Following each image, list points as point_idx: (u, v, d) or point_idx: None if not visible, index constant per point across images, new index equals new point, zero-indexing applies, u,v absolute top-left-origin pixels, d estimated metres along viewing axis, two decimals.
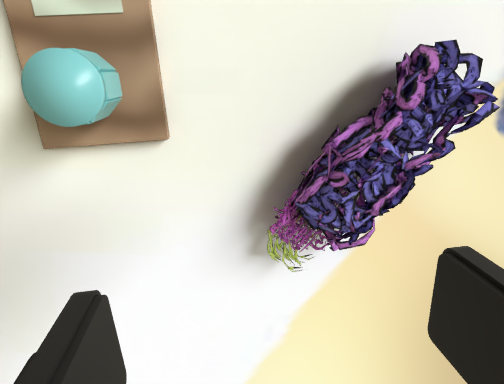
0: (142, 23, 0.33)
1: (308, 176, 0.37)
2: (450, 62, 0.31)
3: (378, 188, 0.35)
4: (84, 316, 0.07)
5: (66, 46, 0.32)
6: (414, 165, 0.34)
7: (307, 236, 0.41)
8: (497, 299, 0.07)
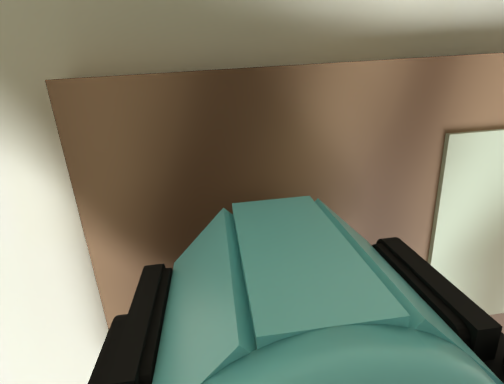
0: None
1: None
2: None
3: None
4: (159, 283, 0.08)
5: (366, 198, 0.12)
6: None
7: None
8: (409, 283, 0.08)
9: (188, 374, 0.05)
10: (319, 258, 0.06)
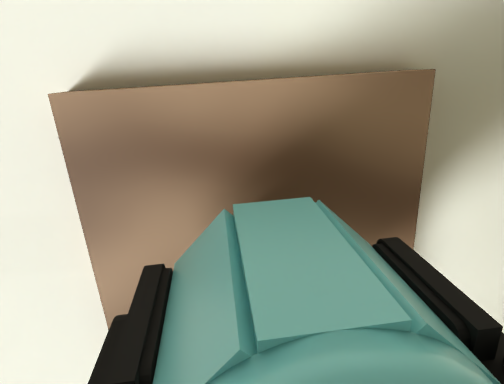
0: None
1: None
2: None
3: None
4: (159, 283, 0.08)
5: None
6: None
7: None
8: (409, 283, 0.08)
9: (188, 377, 0.05)
10: (320, 261, 0.06)
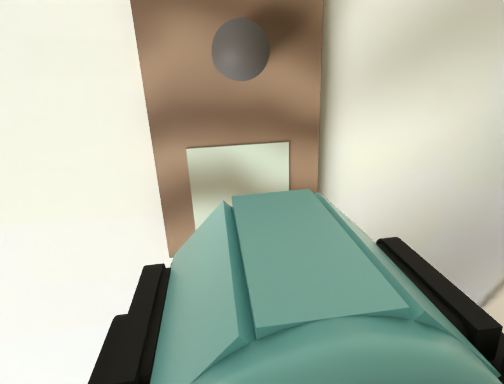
0: (162, 137, 0.25)
1: None
2: None
3: None
4: (159, 283, 0.08)
5: (261, 107, 0.25)
6: None
7: None
8: None
9: (188, 365, 0.05)
10: (319, 250, 0.06)
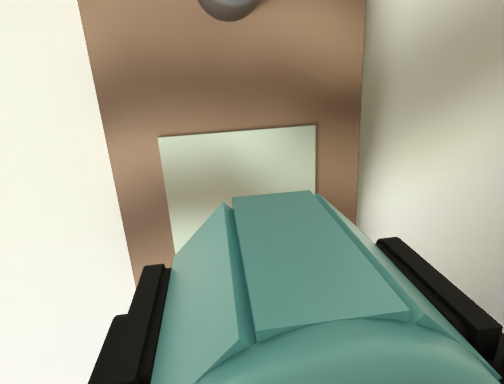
0: (119, 119, 0.16)
1: None
2: None
3: None
4: (159, 283, 0.08)
5: (272, 71, 0.16)
6: None
7: None
8: None
9: (188, 367, 0.05)
10: (319, 252, 0.06)
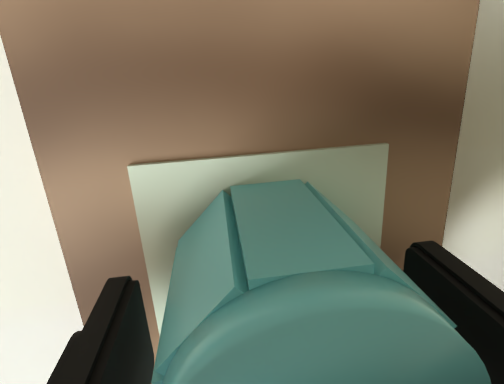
0: (61, 136, 0.09)
1: None
2: None
3: None
4: (121, 298, 0.08)
5: (323, 54, 0.09)
6: None
7: None
8: (453, 289, 0.08)
9: (193, 316, 0.06)
10: (304, 226, 0.07)
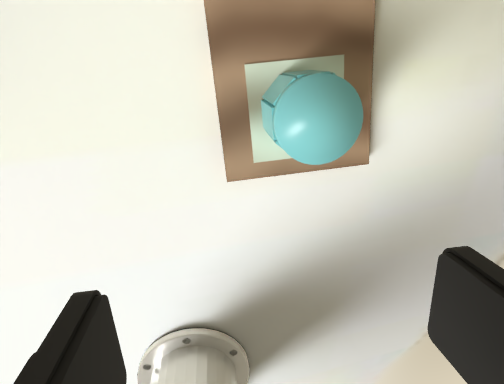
0: (221, 53, 0.25)
1: None
2: None
3: None
4: (84, 316, 0.07)
5: (317, 18, 0.25)
6: None
7: None
8: (497, 299, 0.07)
9: (281, 90, 0.22)
10: None
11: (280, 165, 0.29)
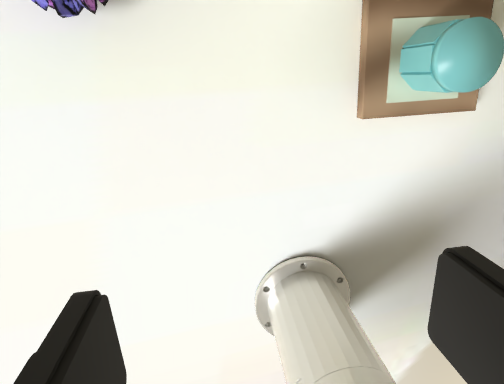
0: (377, 8, 0.32)
1: None
2: None
3: None
4: (84, 316, 0.07)
5: None
6: None
7: None
8: (497, 299, 0.07)
9: (440, 32, 0.29)
10: None
11: (406, 107, 0.36)
